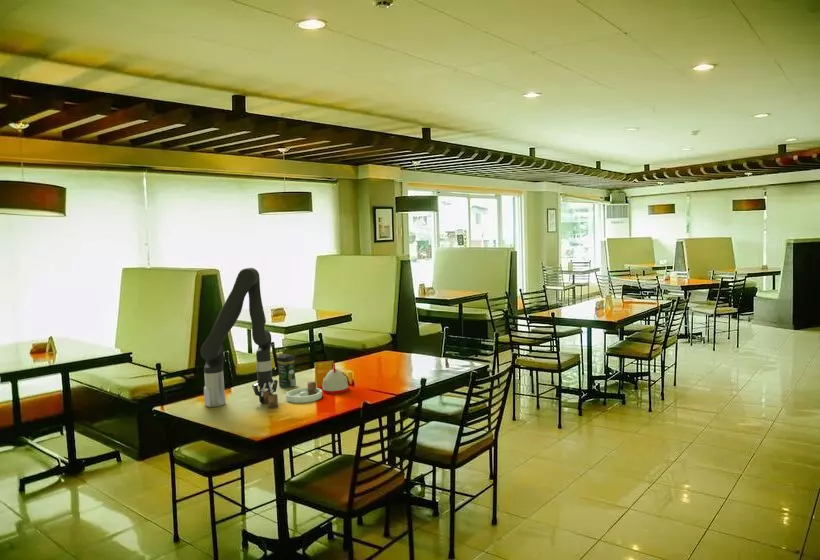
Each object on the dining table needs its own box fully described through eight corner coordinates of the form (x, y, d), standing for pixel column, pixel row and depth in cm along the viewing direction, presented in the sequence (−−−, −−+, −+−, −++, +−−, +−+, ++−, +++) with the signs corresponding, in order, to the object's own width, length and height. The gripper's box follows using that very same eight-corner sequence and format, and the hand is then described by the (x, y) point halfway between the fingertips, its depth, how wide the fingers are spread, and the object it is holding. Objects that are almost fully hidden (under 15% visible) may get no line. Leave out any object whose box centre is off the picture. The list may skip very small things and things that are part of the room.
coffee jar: (276, 386, 322) (274, 354, 320) (288, 383, 328) (286, 352, 326) (287, 389, 315) (284, 356, 314) (298, 385, 321) (296, 353, 320)
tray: (299, 405, 283) (299, 399, 283) (279, 398, 296) (279, 393, 296) (329, 396, 296) (328, 391, 296) (308, 391, 309) (308, 385, 309)
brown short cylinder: (272, 408, 279) (271, 397, 278) (267, 407, 282) (266, 395, 282) (279, 406, 282) (279, 395, 282) (275, 405, 285) (274, 393, 285)
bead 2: (311, 395, 297) (310, 384, 296) (306, 394, 300) (305, 382, 299) (318, 393, 300) (317, 382, 299) (313, 392, 303) (312, 381, 302)
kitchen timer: (347, 386, 316) (346, 359, 315) (348, 392, 302) (347, 365, 301) (322, 388, 314) (321, 361, 313) (322, 395, 300) (321, 367, 299)
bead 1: (264, 404, 287) (264, 392, 287) (260, 402, 290) (259, 391, 290) (272, 402, 290) (271, 390, 290) (267, 400, 294) (267, 389, 293)
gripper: (255, 373, 282) (257, 406, 283) (280, 367, 292) (282, 400, 293) (247, 371, 287) (250, 404, 288) (272, 365, 297) (274, 397, 298)
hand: (266, 401), depth 290 cm, fingers closed on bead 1, 4 cm apart
